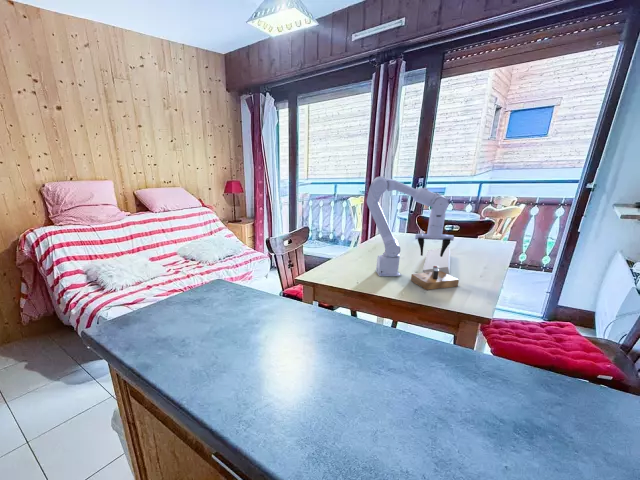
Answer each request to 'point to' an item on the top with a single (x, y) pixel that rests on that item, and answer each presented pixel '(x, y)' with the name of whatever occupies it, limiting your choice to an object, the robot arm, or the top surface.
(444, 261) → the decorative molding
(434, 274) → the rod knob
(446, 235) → the robot arm
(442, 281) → the panel
